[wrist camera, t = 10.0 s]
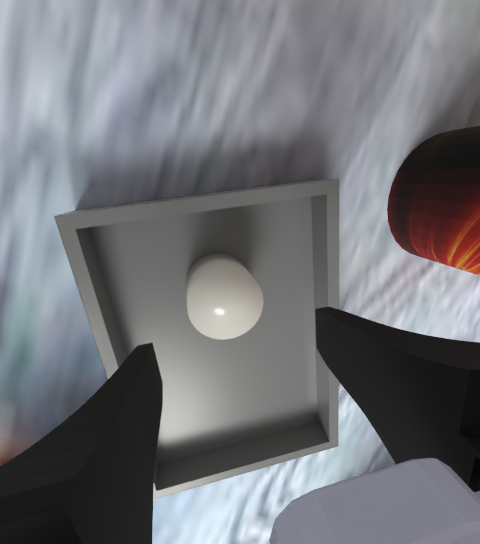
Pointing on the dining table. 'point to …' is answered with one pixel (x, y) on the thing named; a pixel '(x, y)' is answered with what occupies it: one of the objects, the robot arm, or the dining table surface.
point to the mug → (440, 200)
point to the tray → (214, 352)
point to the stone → (222, 296)
